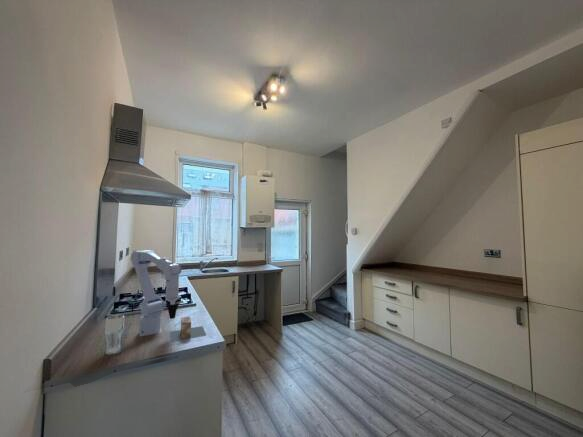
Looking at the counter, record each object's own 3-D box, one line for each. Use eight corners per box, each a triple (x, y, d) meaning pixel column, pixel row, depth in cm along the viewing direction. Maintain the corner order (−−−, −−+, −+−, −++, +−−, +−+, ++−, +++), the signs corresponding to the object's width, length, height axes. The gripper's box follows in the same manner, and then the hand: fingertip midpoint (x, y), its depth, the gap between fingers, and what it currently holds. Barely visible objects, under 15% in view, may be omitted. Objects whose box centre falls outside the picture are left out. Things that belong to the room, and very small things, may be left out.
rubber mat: (170, 343, 114) (170, 342, 114) (169, 332, 126) (169, 331, 126) (206, 336, 121) (206, 335, 122) (202, 326, 134) (202, 326, 134)
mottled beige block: (182, 338, 119) (182, 323, 119) (180, 331, 127) (181, 317, 127) (190, 336, 120) (191, 321, 121) (189, 330, 128) (189, 316, 129)
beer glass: (108, 357, 102) (110, 320, 103) (101, 352, 105) (102, 317, 106) (127, 350, 107) (128, 315, 108) (119, 346, 111) (120, 312, 112)
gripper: (182, 289, 117) (181, 318, 116) (180, 284, 130) (179, 310, 129) (165, 291, 114) (165, 321, 113) (165, 286, 127) (164, 313, 126)
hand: (172, 316), depth 121 cm, fingers open, 7 cm apart
